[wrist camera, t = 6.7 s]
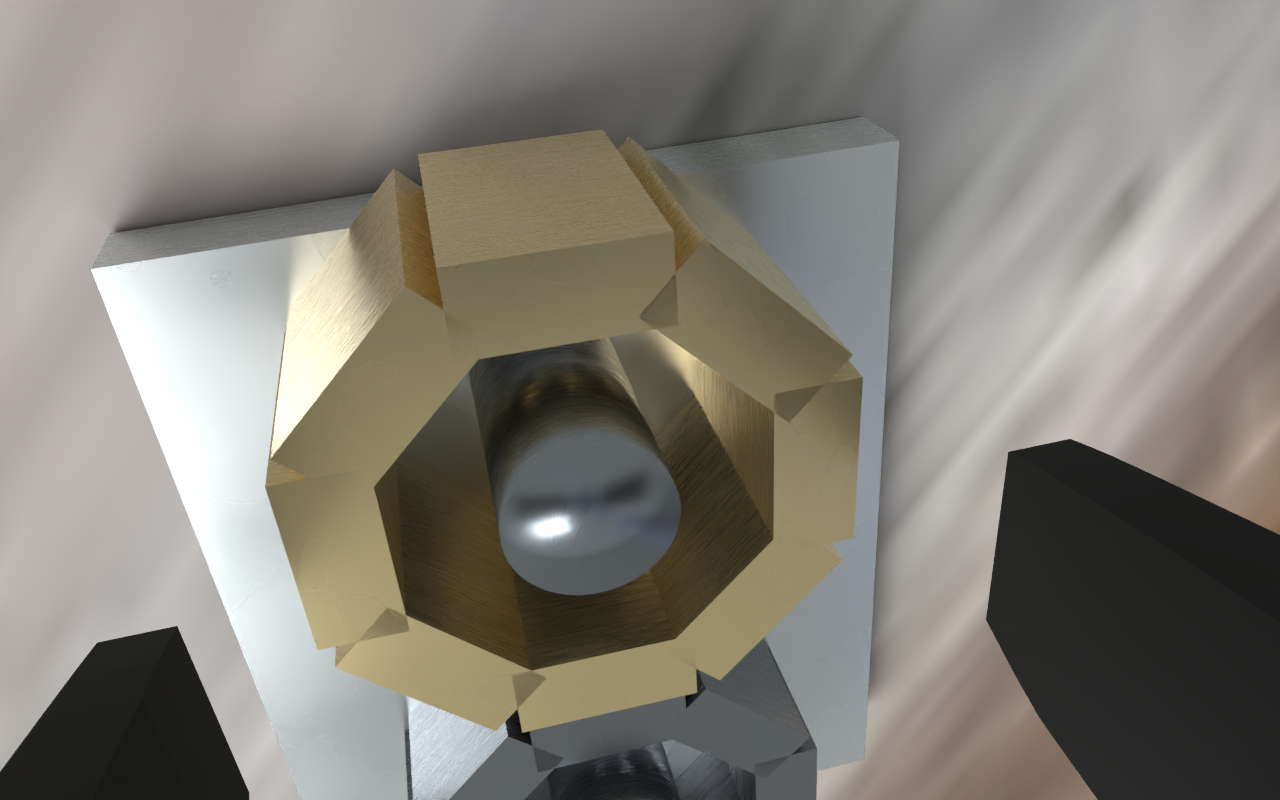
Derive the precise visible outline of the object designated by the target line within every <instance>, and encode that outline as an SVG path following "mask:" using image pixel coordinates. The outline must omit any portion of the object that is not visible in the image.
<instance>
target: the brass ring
mask: <svg viewBox="0 0 1280 800" xmlns="http://www.w3.org/2000/svg"><path fill="white" fill-rule="evenodd" d="M418 160H419V166H420V172H421V178H422V184H423V188H422V187H420V186H419V185H417V184H416V183H414V182H413V181H411V180H410V179H408V178H407V177H406V176H404V175H403V174H401V173H400V172H398V171H397V170H395V169H394V168H393V170H392V171H391V172H390V174H389V175H388V176H387V178H386V179H385V180H384V182H383V183H382V184H381V186H380V187H379V188H378V190H377V191H376V193H375V194H374V195H373V197H372V198H371V199H370V201H369V202H368V203H367V205H366V206H365V207H364V209H363V210H362V211H361V213H360V214H359V215H358V217H357V218H356V219H355V221H354V222H353V224H352V225H351V226H350V228H349V229H348V230H347V232H346V233H345V234H344V236H343V237H342V238H341V240H340V241H339V242H338V244H337V245H336V246H335V248H334V249H333V250H332V252H331V253H330V254H329V256H328V257H327V259H326V260H325V261H324V263H323V264H322V265H321V267H320V268H319V269H318V271H317V272H316V273H315V275H314V276H313V277H312V279H311V280H310V281H309V283H308V284H307V285H306V287H305V288H304V290H303V291H302V292H301V294H300V295H299V296H298V298H297V299H296V300H295V302H294V303H293V304H292V306H291V307H290V308H289V312H288V320H287V328H286V332H285V333H284V340H283V348H282V356H281V364H280V372H279V380H278V388H277V396H276V404H275V411H274V419H273V427H272V435H271V443H270V451H269V459H268V467H267V475H266V483H265V489H266V492H267V495H268V498H269V501H270V504H271V507H272V510H273V514H274V517H275V520H276V523H277V526H278V529H279V532H280V535H281V539H282V542H283V545H284V548H285V551H286V554H287V557H288V560H289V563H290V567H291V570H292V573H293V576H294V579H295V582H296V585H297V588H298V592H299V595H300V598H301V601H302V604H303V607H304V610H305V613H306V617H307V620H308V623H309V626H310V629H311V632H312V635H313V638H314V641H315V645H316V648H317V650H322V649H326V648H331V647H336V656H335V668H337V669H340V670H342V671H345V672H348V673H350V674H353V675H355V676H358V677H360V678H363V679H365V680H368V681H370V682H373V683H375V684H378V685H380V686H383V687H385V688H388V689H390V690H393V691H395V692H398V693H400V694H403V695H405V696H408V697H411V698H413V699H416V700H418V701H421V702H423V703H426V704H428V705H431V706H433V707H436V708H438V709H441V710H443V711H446V712H448V713H451V714H453V715H456V716H458V717H461V718H463V719H466V720H469V721H471V722H474V723H476V724H479V725H481V726H484V727H486V728H489V729H491V730H494V731H497V730H498V729H499V728H500V727H501V726H502V725H503V724H504V723H505V721H506V720H507V719H508V718H509V717H510V716H511V715H512V714H513V713H514V712H515V711H516V710H517V709H518V713H519V718H520V724H521V729H522V733H523V732H528V731H532V730H536V729H541V728H545V727H549V726H554V725H558V724H563V723H567V722H571V721H576V720H580V719H584V718H589V717H593V716H597V715H602V714H606V713H611V712H615V711H619V710H624V709H628V708H632V707H637V706H641V705H646V704H650V703H654V702H659V701H663V700H667V699H672V698H676V697H680V696H685V695H689V694H694V693H697V678H696V669H698V670H700V671H702V672H704V673H706V674H708V675H710V676H712V677H714V678H716V679H718V680H721V679H722V678H723V677H724V676H725V675H726V674H727V673H728V672H729V671H730V670H731V669H732V668H733V667H734V666H735V665H736V664H737V663H738V662H739V661H740V660H741V659H742V658H743V657H744V656H745V655H746V654H748V653H749V652H750V651H751V650H752V649H753V648H754V647H755V646H756V645H757V644H758V643H759V642H760V641H761V640H762V639H763V638H764V637H765V636H766V635H767V634H768V633H769V632H770V631H771V630H772V629H773V628H774V627H775V626H776V625H777V624H778V623H779V622H780V621H781V620H782V619H783V618H784V617H785V616H786V615H787V614H788V613H789V612H790V611H791V610H792V609H793V608H794V607H795V606H796V605H797V604H798V603H799V602H800V601H801V600H802V599H803V598H804V597H805V596H806V595H808V594H809V593H810V592H811V591H812V590H813V589H814V588H815V587H816V586H817V585H818V584H819V583H820V582H821V581H822V580H823V579H824V578H825V577H826V576H827V575H828V574H829V573H830V572H831V571H832V570H833V569H834V568H835V567H836V566H837V565H838V564H839V563H840V562H841V561H842V560H843V559H842V558H841V556H840V554H839V553H838V551H837V550H836V548H835V546H834V545H833V542H838V541H842V540H847V539H852V538H854V525H855V508H856V491H857V473H858V456H859V439H860V421H861V404H862V387H863V377H862V376H861V374H860V373H859V372H858V371H857V370H856V368H855V367H854V366H853V365H852V364H851V362H850V361H849V359H850V358H851V357H852V356H853V354H852V353H851V351H850V350H849V349H848V348H847V347H846V346H845V344H844V343H843V342H842V341H841V340H840V339H839V337H838V336H837V335H836V334H835V333H834V332H833V330H832V329H831V328H830V327H829V326H828V324H827V323H826V322H825V321H824V320H823V319H822V317H821V316H820V315H819V314H818V313H817V312H816V310H815V309H814V308H813V307H812V306H811V305H810V303H809V302H808V301H807V300H806V299H805V298H804V296H803V295H802V294H801V293H800V292H799V290H798V289H797V288H796V287H795V286H794V285H793V283H792V282H791V281H790V280H789V279H788V278H787V276H786V275H785V274H784V273H783V272H782V271H781V269H780V268H779V267H778V266H777V265H776V263H775V262H774V261H773V260H772V259H771V258H770V256H769V255H768V254H767V253H766V252H765V251H764V249H763V248H762V247H761V246H760V245H759V244H758V242H757V241H756V240H755V239H754V238H753V237H752V236H751V235H750V234H749V233H748V232H746V231H745V230H744V229H743V228H741V227H740V226H739V225H738V224H736V223H735V222H734V221H733V220H732V219H730V218H729V217H728V216H727V215H725V214H724V213H723V212H722V211H720V210H719V209H718V208H717V207H715V206H714V205H713V204H712V203H711V202H709V201H708V200H707V199H706V198H704V197H703V196H702V195H701V194H699V193H698V192H697V191H696V190H695V189H693V188H692V187H691V186H690V185H688V184H687V183H686V182H685V181H683V180H682V179H681V178H680V177H678V176H677V175H676V174H675V173H674V172H672V171H671V170H670V169H669V168H667V167H666V166H665V165H664V164H662V163H661V162H660V161H659V160H658V159H656V158H655V157H654V156H653V155H651V154H650V153H649V152H648V151H646V150H645V149H644V148H643V147H641V146H640V145H639V144H638V143H637V142H635V141H634V140H633V139H632V138H630V137H629V136H628V137H627V138H626V139H625V141H624V142H623V143H622V144H621V146H620V147H619V148H618V149H617V148H616V147H615V146H614V144H613V143H612V141H611V140H610V138H609V137H608V135H607V134H606V133H605V131H604V130H603V129H600V130H592V131H585V132H578V133H570V134H563V135H556V136H548V137H541V138H534V139H526V140H519V141H512V142H504V143H497V144H490V145H482V146H475V147H468V148H460V149H453V150H446V151H438V152H431V153H424V154H418ZM655 329H656V330H657V331H658V332H660V333H661V334H663V335H664V336H666V337H667V338H668V339H670V340H671V341H673V342H674V343H676V344H677V345H678V346H680V347H681V348H683V349H684V350H686V351H687V352H688V353H690V354H691V355H693V359H694V382H695V396H694V397H693V398H692V399H691V400H690V401H689V402H688V403H687V404H686V405H685V407H684V408H683V409H682V410H681V411H680V412H679V413H678V414H677V415H676V417H675V418H674V419H673V420H672V421H671V422H670V423H669V424H668V425H667V426H666V428H665V429H664V430H663V431H662V432H661V433H660V434H659V435H658V436H657V437H656V439H655V441H656V443H657V445H658V447H659V450H660V452H661V454H662V456H663V458H664V461H665V463H666V465H667V467H668V470H669V472H670V474H671V476H672V479H673V481H674V483H675V485H676V488H677V491H678V494H679V497H680V503H681V517H680V523H679V527H678V530H677V533H676V535H675V537H674V540H673V542H672V544H671V545H670V547H669V548H668V550H667V551H666V553H665V554H664V555H663V556H662V557H661V559H660V560H659V561H658V562H657V563H656V564H655V565H654V566H653V567H652V568H650V569H649V570H648V571H646V572H645V573H644V574H643V575H641V576H639V577H638V578H636V579H635V580H633V581H631V582H629V583H627V584H625V585H623V586H620V587H618V588H615V589H612V590H609V591H605V592H601V593H595V594H589V595H565V594H558V593H554V592H550V591H546V590H544V589H541V588H539V587H536V586H535V585H533V584H531V583H529V582H527V581H526V580H525V579H524V578H522V577H521V576H520V575H519V574H518V573H517V572H516V571H515V570H514V569H513V568H512V566H511V565H510V564H509V562H508V561H507V559H506V556H505V554H504V552H503V549H502V545H501V541H500V535H499V530H498V525H497V520H496V514H495V509H494V504H493V500H491V499H489V498H487V497H485V496H483V495H481V494H480V493H478V492H476V491H474V490H472V489H470V488H468V487H466V486H465V485H463V484H461V483H459V482H457V481H455V480H453V479H451V478H449V477H448V476H446V475H444V474H442V473H440V472H438V471H436V470H434V469H433V468H431V467H429V466H427V465H425V464H423V463H421V462H419V461H418V460H416V459H414V458H412V457H410V456H408V455H406V454H404V453H402V452H403V451H404V449H405V448H406V447H407V446H408V445H409V443H410V442H411V441H412V440H413V439H414V437H415V436H416V435H417V434H418V432H419V431H420V430H421V429H422V428H423V426H424V425H425V424H426V423H427V421H428V420H429V419H430V418H431V417H432V415H433V414H434V413H435V412H436V410H437V409H438V408H439V407H440V406H441V404H442V403H443V402H444V401H445V400H446V398H447V397H448V396H449V395H450V393H451V392H452V391H453V390H454V389H455V387H456V386H457V385H458V384H459V382H460V381H461V380H462V379H463V378H464V376H465V375H466V374H467V373H468V371H469V370H470V369H471V368H472V367H473V365H474V364H475V363H476V362H477V361H478V359H484V358H490V357H496V356H501V355H507V354H513V353H519V352H525V351H531V350H537V349H543V348H549V347H555V346H561V345H566V344H572V343H578V342H584V341H590V340H596V339H602V338H608V337H614V336H620V335H625V334H631V333H637V332H643V331H649V330H655Z"/></svg>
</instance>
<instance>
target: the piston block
mask: <svg viewBox="0 0 1280 800" xmlns="http://www.w3.org/2000/svg"><path fill="white" fill-rule="evenodd" d="M899 142H900V140H898V139H897V138H895V137H894V136H892V135H891V134H889V133H888V132H886V131H885V130H884V129H882V128H881V127H879V126H878V125H876V124H875V123H873V122H872V121H870V120H869V119H867V118H866V117H859V118H853V119H846V120H840V121H833V122H827V123H821V124H814V125H808V126H801V127H795V128H788V129H782V130H775V131H769V132H762V133H756V134H749V135H743V136H736V137H730V138H724V139H717V140H711V141H704V142H698V143H691V144H685V145H678V146H672V147H665V148H659V149H652V150H646V151H648V152H649V153H650V154H651V155H653V156H654V157H655V158H656V159H658V160H659V161H660V162H661V163H662V164H664V165H665V166H666V167H667V168H669V169H670V170H671V171H672V172H674V173H675V174H676V175H677V176H678V177H680V178H681V179H682V180H683V181H685V182H686V183H687V184H688V185H690V186H691V187H692V188H693V189H695V190H696V191H697V192H698V193H699V194H701V195H702V196H703V197H704V198H706V199H707V200H708V201H709V202H711V203H712V204H713V205H714V206H715V207H717V208H718V209H719V210H720V211H722V212H723V213H724V214H725V215H727V216H728V217H729V218H730V219H732V220H733V221H734V222H735V223H736V224H738V225H739V226H740V227H741V228H743V229H744V230H745V231H746V232H748V233H749V234H750V235H751V236H752V237H753V238H754V239H755V240H756V241H757V242H758V244H759V245H760V246H761V247H762V248H763V249H764V251H765V252H766V253H767V254H768V255H769V256H770V258H771V259H772V260H773V261H774V262H775V263H776V265H777V266H778V267H779V268H780V269H781V271H782V272H783V273H784V274H785V275H786V276H787V278H788V279H789V280H790V281H791V282H792V283H793V285H794V286H795V287H796V288H797V289H798V290H799V292H800V293H801V294H802V295H803V296H804V298H805V299H806V300H807V301H808V302H809V303H810V305H811V306H812V307H813V308H814V309H815V310H816V312H817V313H818V314H819V315H820V316H821V317H822V319H823V320H824V321H825V322H826V323H827V324H828V326H829V327H830V328H831V329H832V330H833V332H834V333H835V334H836V335H837V336H838V337H839V339H840V340H841V341H842V342H843V343H844V344H845V346H846V347H847V348H848V349H849V350H850V351H851V353H852V354H853V356H852V357H851V358H850V359H849V361H850V362H851V364H852V365H853V366H854V367H855V368H856V370H857V371H858V372H859V373H860V374H861V376H862V377H863V387H862V404H861V421H860V439H859V456H858V473H857V491H856V508H855V525H854V538H852V539H847V540H842V541H838V542H833V545H834V546H835V548H836V550H837V551H838V553H839V554H840V556H841V558H842V559H843V560H842V561H841V562H840V563H839V564H838V565H837V566H836V567H835V568H834V569H833V570H832V571H831V572H830V573H829V574H828V575H827V576H826V577H825V578H824V579H823V580H822V581H821V582H820V583H819V584H818V585H817V586H816V587H815V588H814V589H813V590H812V591H811V592H810V593H809V594H808V595H806V596H805V597H804V598H803V599H802V600H801V601H800V602H799V603H798V604H797V605H796V606H795V607H794V608H793V609H792V610H791V611H790V612H789V613H788V614H787V615H786V616H785V617H784V618H783V619H782V620H781V621H780V622H779V623H778V624H777V625H776V626H775V627H774V628H773V629H772V630H771V631H770V632H769V633H768V634H767V635H766V636H765V637H764V638H763V639H762V640H761V641H760V642H759V643H758V644H757V645H756V646H755V647H754V648H753V649H752V650H751V651H750V652H749V653H748V654H746V655H745V656H744V657H743V658H742V659H741V660H740V661H739V662H738V663H737V664H736V665H735V666H734V667H733V668H732V669H731V670H730V671H729V672H728V673H727V674H726V675H725V676H724V677H723V678H722V679H721V680H718V679H716V678H714V677H712V676H710V675H708V674H706V673H704V672H702V671H700V670H698V669H696V678H697V693H694V694H689V695H685V696H680V697H676V698H672V699H667V700H663V701H659V702H654V703H650V704H646V705H641V706H637V707H632V708H628V709H624V710H619V711H615V712H611V713H606V714H602V715H597V716H593V717H589V718H584V719H580V720H576V721H571V722H567V723H563V724H558V725H554V726H549V727H545V728H541V729H536V730H532V731H528V732H523V733H522V729H521V724H520V718H519V713H518V709H517V710H516V711H515V712H514V713H513V714H512V715H511V716H510V717H509V718H508V719H507V720H506V721H505V723H504V724H503V725H502V726H501V727H500V728H499V729H498V730H497V731H494V730H491V729H489V728H486V727H484V726H481V725H479V724H476V723H474V722H471V721H469V720H466V719H463V718H461V717H458V716H456V715H453V714H451V713H448V712H446V711H443V710H441V709H438V708H436V707H433V706H431V705H428V704H426V703H423V702H421V701H418V700H416V699H413V698H411V697H408V696H405V695H403V694H400V693H398V692H395V691H393V690H390V689H388V688H385V687H383V686H380V685H378V684H375V683H373V682H370V681H368V680H365V679H363V678H360V677H358V676H355V675H353V674H350V673H348V672H345V671H342V670H340V669H337V668H335V656H336V647H331V648H326V649H322V650H317V648H316V645H315V641H314V638H313V635H312V632H311V629H310V626H309V623H308V620H307V617H306V613H305V610H304V607H303V604H302V601H301V598H300V595H299V592H298V588H297V585H296V582H295V579H294V576H293V573H292V570H291V567H290V563H289V560H288V557H287V554H286V551H285V548H284V545H283V542H282V539H281V535H280V532H279V529H278V526H277V523H276V520H275V517H274V514H273V510H272V507H271V504H270V501H269V498H268V495H267V492H266V489H265V483H266V475H267V467H268V459H269V451H270V443H271V435H272V427H273V419H274V411H275V404H276V396H277V388H278V380H279V372H280V364H281V356H282V348H283V340H284V333H285V332H286V328H287V320H288V312H289V308H290V307H291V306H292V304H293V303H294V302H295V300H296V299H297V298H298V296H299V295H300V294H301V292H302V291H303V290H304V288H305V287H306V285H307V284H308V283H309V281H310V280H311V279H312V277H313V276H314V275H315V273H316V272H317V271H318V269H319V268H320V267H321V265H322V264H323V263H324V261H325V260H326V259H327V257H328V256H329V254H330V253H331V252H332V250H333V249H334V248H335V246H336V245H337V244H338V242H339V241H340V240H341V238H342V237H343V236H344V234H345V233H346V232H347V230H348V229H349V228H350V226H351V225H352V224H353V222H354V221H355V219H356V218H357V217H358V215H359V214H360V213H361V211H362V210H363V209H364V207H365V206H366V205H367V203H368V202H369V201H370V199H371V198H372V197H373V195H374V194H375V193H376V192H374V193H368V194H361V195H355V196H349V197H342V198H336V199H329V200H323V201H316V202H310V203H303V204H297V205H290V206H284V207H277V208H271V209H264V210H258V211H252V212H245V213H239V214H232V215H226V216H219V217H213V218H206V219H200V220H193V221H187V222H180V223H174V224H167V225H161V226H155V227H148V228H142V229H135V230H129V231H122V232H116V233H110V234H109V236H108V238H107V240H106V242H105V243H104V245H103V247H102V249H101V251H100V253H99V255H98V257H97V258H96V260H95V262H94V264H93V266H92V268H91V271H92V274H93V276H94V279H95V281H96V284H97V286H98V289H99V291H100V294H101V296H102V299H103V301H104V304H105V306H106V309H107V311H108V314H109V316H110V319H111V321H112V324H113V327H114V329H115V332H116V334H117V337H118V339H119V342H120V344H121V347H122V349H123V352H124V354H125V357H126V359H127V362H128V364H129V367H130V369H131V372H132V374H133V377H134V380H135V382H136V385H137V387H138V390H139V392H140V395H141V397H142V400H143V402H144V405H145V407H146V410H147V412H148V415H149V417H150V420H151V422H152V425H153V427H154V430H155V433H156V435H157V438H158V440H159V443H160V445H161V448H162V450H163V453H164V455H165V458H166V460H167V463H168V465H169V468H170V470H171V473H172V475H173V478H174V480H175V483H176V486H177V488H178V491H179V493H180V496H181V498H182V501H183V503H184V506H185V508H186V511H187V513H188V516H189V518H190V521H191V523H192V526H193V528H194V531H195V533H196V536H197V539H198V541H199V544H200V546H201V549H202V551H203V554H204V556H205V559H206V561H207V564H208V566H209V569H210V571H211V574H212V576H213V579H214V581H215V584H216V586H217V589H218V592H219V594H220V597H221V599H222V602H223V604H224V607H225V609H226V612H227V614H228V617H229V619H230V622H231V624H232V627H233V629H234V632H235V634H236V637H237V639H238V642H239V645H240V647H241V650H242V652H243V655H244V657H245V660H246V662H247V665H248V667H249V670H250V672H251V675H252V677H253V680H254V682H255V685H256V687H257V690H258V692H259V695H260V698H261V700H262V703H263V705H264V708H265V710H266V713H267V715H268V718H269V720H270V723H271V725H272V728H273V730H274V733H275V735H276V738H277V740H278V743H279V745H280V748H281V751H282V753H283V756H284V758H285V761H286V763H287V766H288V768H289V771H290V773H291V776H292V778H293V781H294V783H295V786H296V788H297V791H298V793H299V796H300V798H301V800H816V784H817V771H820V770H824V769H828V768H831V767H835V766H839V765H843V764H847V763H851V762H855V761H859V760H863V759H865V742H866V725H867V707H868V690H869V672H870V654H871V637H872V619H873V601H874V584H875V566H876V548H877V531H878V513H879V495H880V478H881V460H882V442H883V425H884V407H885V389H886V372H887V354H888V337H889V319H890V301H891V284H892V266H893V248H894V231H895V213H896V195H897V178H898V160H899ZM420 187H422V188H423V185H420ZM694 396H695V382H694V359H693V355H691V354H690V353H688V352H687V351H686V350H684V349H683V348H681V347H680V346H678V345H677V344H676V343H674V342H673V341H671V340H670V339H668V338H667V337H666V336H664V335H663V334H661V333H660V332H658V331H657V330H656V329H655V330H649V331H643V332H637V333H631V334H625V335H620V336H614V337H608V338H602V339H596V340H590V341H584V342H578V343H572V344H566V345H561V346H555V347H549V348H543V349H537V350H531V351H525V352H519V353H513V354H507V355H501V356H496V357H490V358H484V359H478V361H477V362H476V363H475V364H474V365H473V367H472V368H471V369H470V370H469V371H468V373H467V374H466V375H465V376H464V378H463V379H462V380H461V381H460V382H459V384H458V385H457V386H456V387H455V389H454V390H453V391H452V392H451V393H450V395H449V396H448V397H447V398H446V400H445V401H444V402H443V403H442V404H441V406H440V407H439V408H438V409H437V410H436V412H435V413H434V414H433V415H432V417H431V418H430V419H429V420H428V421H427V423H426V424H425V425H424V426H423V428H422V429H421V430H420V431H419V432H418V434H417V435H416V436H415V437H414V439H413V440H412V441H411V442H410V443H409V445H408V446H407V447H406V448H405V449H404V451H403V452H402V453H404V454H406V455H408V456H410V457H412V458H414V459H416V460H418V461H419V462H421V463H423V464H425V465H427V466H429V467H431V468H433V469H434V470H436V471H438V472H440V473H442V474H444V475H446V476H448V477H449V478H451V479H453V480H455V481H457V482H459V483H461V484H463V485H465V486H466V487H468V488H470V489H472V490H474V491H476V492H478V493H480V494H481V495H483V496H485V497H487V498H489V499H491V500H493V504H494V509H495V514H496V520H497V525H498V530H499V535H500V541H501V545H502V549H503V552H504V554H505V556H506V559H507V561H508V562H509V564H510V565H511V566H512V568H513V569H514V570H515V571H516V572H517V573H518V574H519V575H520V576H521V577H522V578H524V579H525V580H526V581H527V582H529V583H531V584H533V585H535V586H536V587H539V588H541V589H544V590H546V591H550V592H554V593H558V594H565V595H589V594H595V593H601V592H605V591H609V590H612V589H615V588H618V587H620V586H623V585H625V584H627V583H629V582H631V581H633V580H635V579H636V578H638V577H639V576H641V575H643V574H644V573H645V572H646V571H648V570H649V569H650V568H652V567H653V566H654V565H655V564H656V563H657V562H658V561H659V560H660V559H661V557H662V556H663V555H664V554H665V553H666V551H667V550H668V548H669V547H670V545H671V544H672V542H673V540H674V537H675V535H676V533H677V530H678V527H679V523H680V517H681V503H680V497H679V494H678V491H677V488H676V485H675V483H674V481H673V479H672V476H671V474H670V472H669V470H668V467H667V465H666V463H665V461H664V458H663V456H662V454H661V452H660V450H659V447H658V445H657V443H656V441H655V439H656V437H657V436H658V435H659V434H660V433H661V432H662V431H663V430H664V429H665V428H666V426H667V425H668V424H669V423H670V422H671V421H672V420H673V419H674V418H675V417H676V415H677V414H678V413H679V412H680V411H681V410H682V409H683V408H684V407H685V405H686V404H687V403H688V402H689V401H690V400H691V399H692V398H693V397H694Z"/></svg>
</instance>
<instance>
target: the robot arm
mask: <svg viewBox="0 0 1280 800" xmlns="http://www.w3.org/2000/svg"><path fill="white" fill-rule="evenodd" d="M986 620H987V622H988V624H989V626H990V628H991V630H992V632H993V634H994V636H995V637H996V639H997V641H998V643H999V645H1000V647H1001V649H1002V651H1003V653H1004V655H1005V657H1006V658H1007V660H1008V662H1009V664H1010V666H1011V668H1012V670H1013V672H1014V674H1015V675H1016V677H1017V679H1018V681H1019V682H1020V684H1021V686H1022V688H1023V690H1024V691H1025V693H1026V695H1027V697H1028V698H1029V700H1030V702H1031V704H1032V705H1033V707H1034V709H1035V711H1036V712H1037V714H1038V716H1039V718H1040V719H1041V720H1042V722H1043V723H1044V725H1045V726H1046V728H1047V729H1048V730H1049V732H1050V733H1051V735H1052V736H1053V738H1054V739H1055V740H1056V742H1057V743H1058V745H1059V746H1060V747H1061V749H1062V750H1063V752H1064V753H1065V754H1066V756H1067V757H1068V759H1069V760H1070V761H1071V763H1072V764H1073V766H1074V767H1075V768H1076V770H1077V771H1078V773H1079V774H1080V775H1081V777H1082V778H1083V780H1084V781H1085V782H1086V784H1087V785H1088V787H1089V788H1090V789H1091V791H1092V792H1093V794H1094V795H1095V796H1096V798H1097V799H1098V800H1280V535H1279V534H1277V533H1274V532H1272V531H1270V530H1268V529H1266V528H1264V527H1262V526H1260V525H1257V524H1255V523H1253V522H1251V521H1249V520H1247V519H1245V518H1243V517H1241V516H1238V515H1236V514H1234V513H1232V512H1230V511H1228V510H1226V509H1224V508H1222V507H1219V506H1217V505H1215V504H1213V503H1211V502H1209V501H1207V500H1205V499H1203V498H1201V497H1198V496H1196V495H1194V494H1192V493H1190V492H1188V491H1186V490H1184V489H1182V488H1180V487H1177V486H1175V485H1173V484H1171V483H1169V482H1167V481H1165V480H1163V479H1160V478H1158V477H1156V476H1154V475H1152V474H1150V473H1148V472H1145V471H1143V470H1141V469H1139V468H1137V467H1135V466H1133V465H1130V464H1128V463H1126V462H1124V461H1121V460H1119V459H1117V458H1115V457H1113V456H1110V455H1108V454H1106V453H1103V452H1101V451H1099V450H1096V449H1094V448H1092V447H1089V446H1087V445H1084V444H1082V443H1079V442H1077V441H1074V440H1071V439H1068V440H1063V441H1058V442H1054V443H1049V444H1044V445H1039V446H1035V447H1030V448H1025V449H1020V450H1016V451H1011V452H1008V459H1007V467H1006V474H1005V482H1004V489H1003V497H1002V504H1001V512H1000V519H999V527H998V534H997V542H996V550H995V557H994V565H993V572H992V580H991V587H990V595H989V602H988V610H987V617H986ZM0 800H249V791H248V789H247V787H246V785H245V782H244V780H243V778H242V775H241V773H240V771H239V768H238V766H237V764H236V761H235V759H234V757H233V754H232V752H231V750H230V748H229V745H228V743H227V741H226V738H225V736H224V734H223V731H222V729H221V727H220V724H219V722H218V720H217V717H216V715H215V713H214V711H213V708H212V706H211V704H210V701H209V699H208V697H207V694H206V692H205V690H204V687H203V685H202V683H201V680H200V678H199V676H198V673H197V671H196V669H195V667H194V664H193V662H192V660H191V657H190V655H189V653H188V650H187V648H186V646H185V643H184V641H183V639H182V636H181V634H180V632H179V630H178V627H177V626H175V627H170V628H166V629H161V630H156V631H151V632H146V633H142V634H137V635H132V636H127V637H123V638H118V639H113V640H108V641H104V642H99V643H97V644H96V645H95V646H94V647H93V649H92V650H91V651H90V653H89V654H88V655H87V657H86V658H85V659H84V660H83V662H82V663H81V664H80V666H79V667H78V668H77V670H76V671H75V672H74V674H73V675H72V676H71V678H70V679H69V680H68V682H67V683H66V684H65V685H64V687H63V688H62V689H61V691H60V692H59V693H58V695H57V696H56V697H55V699H54V700H53V701H52V703H51V704H50V705H49V707H48V708H47V709H46V711H45V712H44V714H43V715H42V716H41V718H40V719H39V720H38V722H37V723H36V724H35V726H34V727H33V728H32V730H31V731H30V732H29V734H28V735H27V736H26V738H25V739H24V740H23V742H22V743H21V745H20V746H19V747H18V749H17V750H16V751H15V753H14V754H13V755H12V757H11V758H10V759H9V761H8V762H7V763H6V765H5V766H4V767H3V769H2V770H1V771H0Z"/></svg>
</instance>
